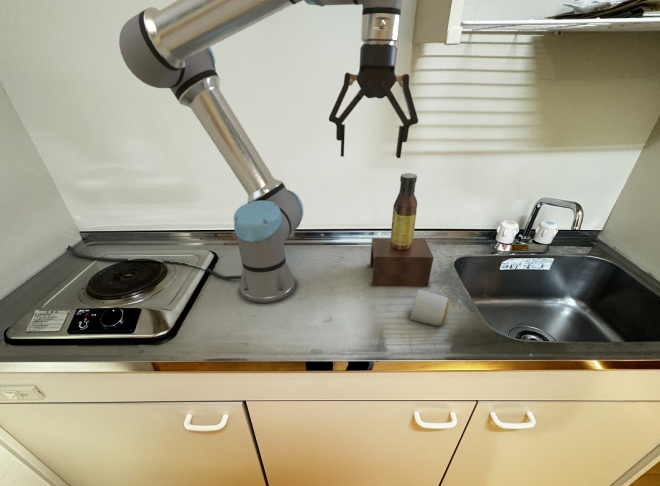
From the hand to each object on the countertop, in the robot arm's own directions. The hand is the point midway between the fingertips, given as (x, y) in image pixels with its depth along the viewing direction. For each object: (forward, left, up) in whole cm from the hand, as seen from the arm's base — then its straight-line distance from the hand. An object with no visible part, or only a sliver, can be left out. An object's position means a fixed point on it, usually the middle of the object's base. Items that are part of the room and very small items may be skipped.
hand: (370, 156), depth 77 cm
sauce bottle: (+10, 0, -24) cm, 26 cm away
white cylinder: (+15, -20, -34) cm, 42 cm away
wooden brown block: (+10, 0, -34) cm, 35 cm away
